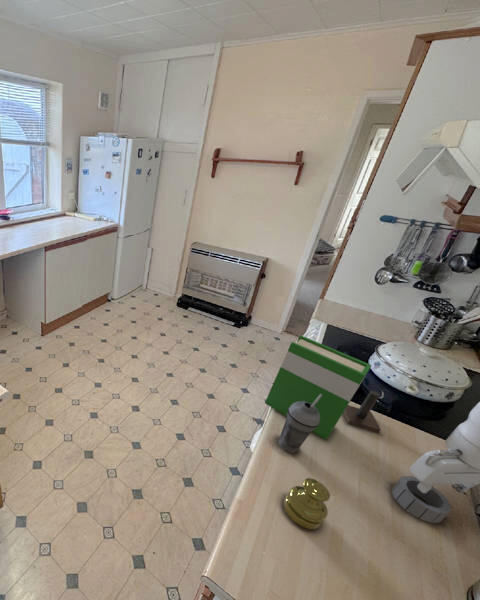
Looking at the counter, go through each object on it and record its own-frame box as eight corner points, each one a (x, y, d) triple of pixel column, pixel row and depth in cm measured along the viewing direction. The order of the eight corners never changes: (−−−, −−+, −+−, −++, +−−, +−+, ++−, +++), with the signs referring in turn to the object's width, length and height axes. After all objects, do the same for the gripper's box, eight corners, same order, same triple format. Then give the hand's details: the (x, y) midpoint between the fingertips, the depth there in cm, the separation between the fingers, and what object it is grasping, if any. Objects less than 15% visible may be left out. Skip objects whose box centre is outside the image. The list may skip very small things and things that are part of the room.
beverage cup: (275, 430, 95) (301, 378, 86) (304, 445, 91) (334, 391, 82) (270, 446, 90) (297, 392, 81) (300, 462, 86) (331, 407, 77)
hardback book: (264, 403, 105) (291, 342, 94) (274, 393, 110) (300, 335, 99) (326, 439, 93) (364, 375, 82) (334, 427, 98) (371, 365, 87)
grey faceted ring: (429, 495, 80) (438, 484, 78) (449, 529, 73) (460, 519, 71) (386, 480, 83) (394, 470, 81) (401, 512, 75) (410, 502, 74)
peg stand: (368, 415, 104) (385, 389, 99) (378, 433, 97) (397, 406, 92) (339, 406, 106) (355, 381, 101) (347, 424, 99) (363, 397, 94)
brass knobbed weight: (275, 503, 75) (291, 476, 71) (296, 492, 78) (312, 465, 74) (306, 536, 69) (325, 508, 65) (327, 522, 72) (347, 495, 68)
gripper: (451, 464, 66) (414, 504, 72) (536, 462, 68) (492, 502, 74) (420, 438, 71) (388, 478, 78) (499, 437, 73) (461, 476, 80)
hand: (440, 489), depth 76 cm, fingers open, 8 cm apart
